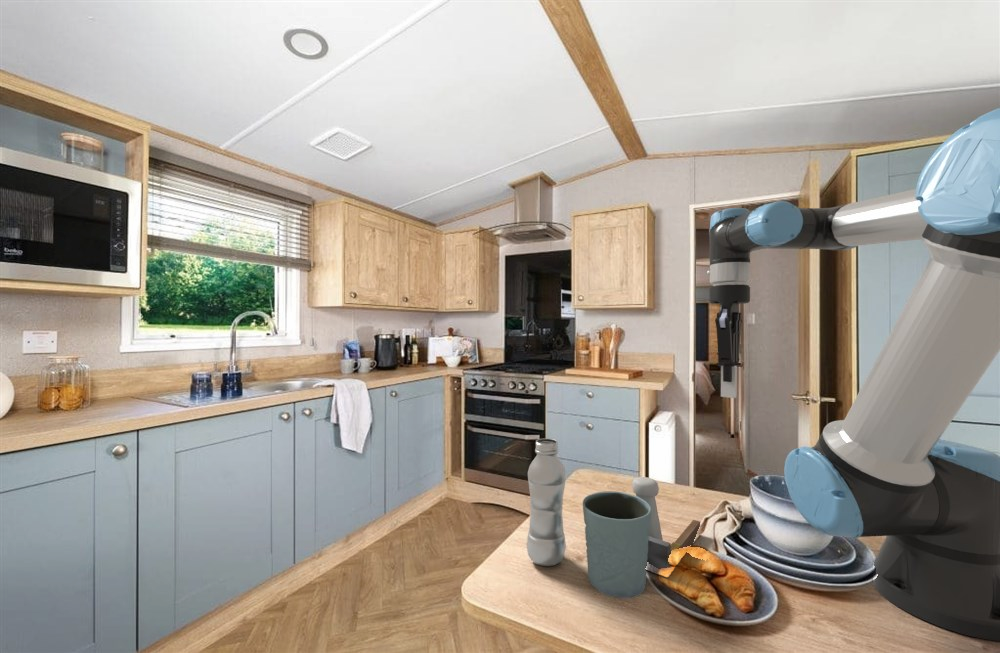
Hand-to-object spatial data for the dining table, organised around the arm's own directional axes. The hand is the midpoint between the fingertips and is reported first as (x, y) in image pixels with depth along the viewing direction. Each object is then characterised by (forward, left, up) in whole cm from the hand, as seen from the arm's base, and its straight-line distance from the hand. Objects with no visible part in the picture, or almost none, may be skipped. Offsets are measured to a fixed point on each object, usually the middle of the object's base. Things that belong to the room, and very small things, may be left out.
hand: (728, 396), depth 88 cm
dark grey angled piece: (+8, +23, -24) cm, 34 cm away
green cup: (+8, +38, -25) cm, 46 cm away
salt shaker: (+7, +27, -25) cm, 38 cm away
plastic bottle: (+19, +40, -25) cm, 51 cm away
